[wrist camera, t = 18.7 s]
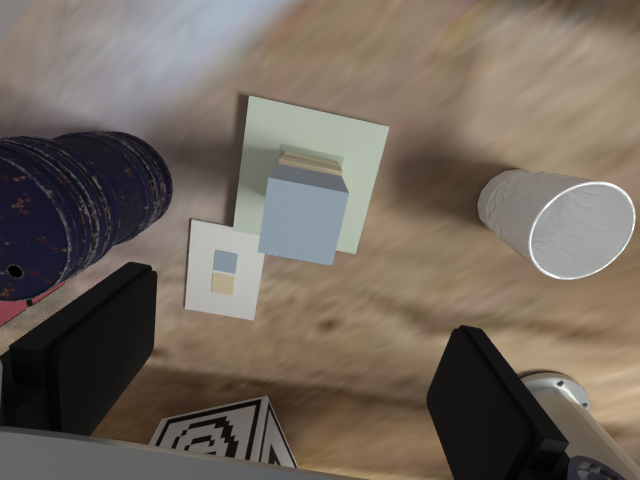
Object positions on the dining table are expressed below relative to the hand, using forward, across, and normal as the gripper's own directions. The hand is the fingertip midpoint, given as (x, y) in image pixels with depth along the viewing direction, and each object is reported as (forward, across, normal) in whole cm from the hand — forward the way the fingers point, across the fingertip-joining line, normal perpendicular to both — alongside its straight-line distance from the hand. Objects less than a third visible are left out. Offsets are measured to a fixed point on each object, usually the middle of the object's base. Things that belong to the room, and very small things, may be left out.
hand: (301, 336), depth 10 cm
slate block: (+17, +1, 0) cm, 17 cm away
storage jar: (+24, +19, +3) cm, 31 cm away
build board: (+25, +1, -1) cm, 25 cm away
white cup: (+25, -20, -3) cm, 32 cm away
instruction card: (+25, +8, +11) cm, 28 cm away
